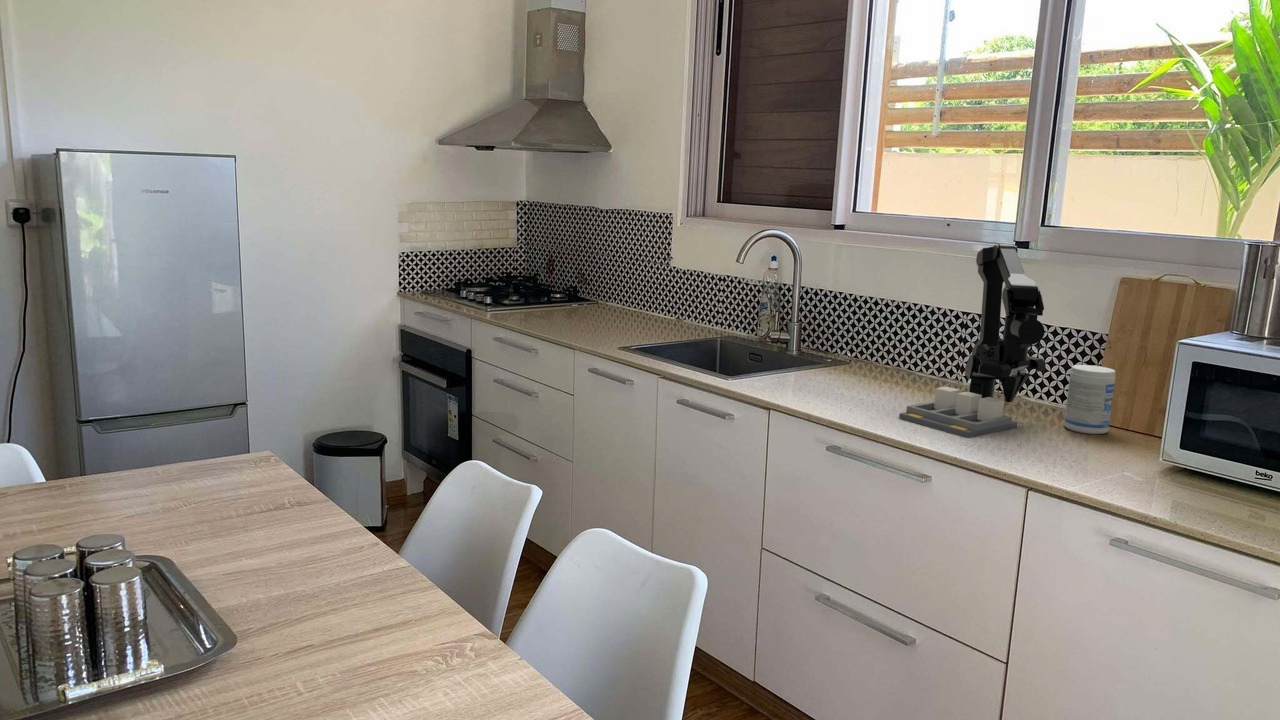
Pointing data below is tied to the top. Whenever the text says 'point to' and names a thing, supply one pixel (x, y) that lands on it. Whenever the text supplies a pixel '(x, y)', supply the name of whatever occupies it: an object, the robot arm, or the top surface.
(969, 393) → the light grey block
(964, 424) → the grey compartment tray
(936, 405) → the beige grey rectangular block
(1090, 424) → the supplement tub
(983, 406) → the light grey block
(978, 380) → the robot arm
